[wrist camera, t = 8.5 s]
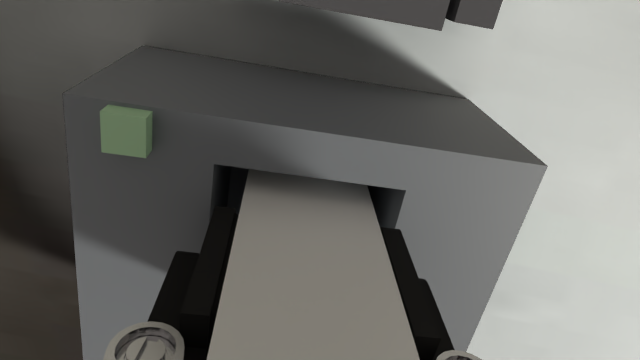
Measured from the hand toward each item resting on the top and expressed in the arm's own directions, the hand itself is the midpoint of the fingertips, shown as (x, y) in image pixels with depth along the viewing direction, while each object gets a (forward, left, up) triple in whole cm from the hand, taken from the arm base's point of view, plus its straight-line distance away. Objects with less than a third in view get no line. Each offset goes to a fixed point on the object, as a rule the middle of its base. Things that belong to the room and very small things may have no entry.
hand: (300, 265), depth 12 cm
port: (0, +2, -6) cm, 7 cm away
